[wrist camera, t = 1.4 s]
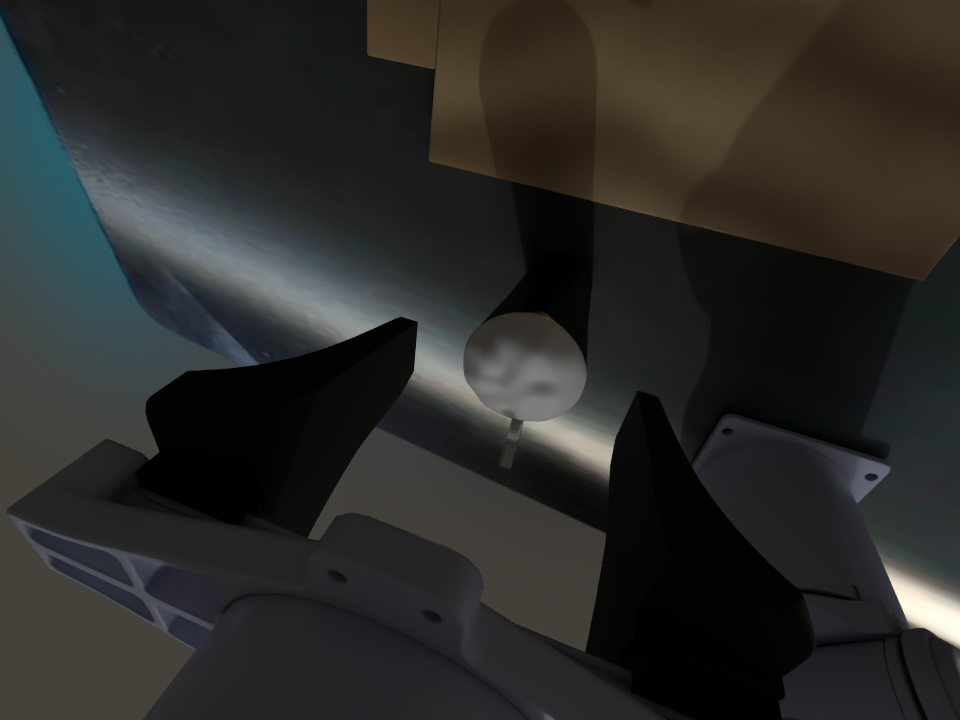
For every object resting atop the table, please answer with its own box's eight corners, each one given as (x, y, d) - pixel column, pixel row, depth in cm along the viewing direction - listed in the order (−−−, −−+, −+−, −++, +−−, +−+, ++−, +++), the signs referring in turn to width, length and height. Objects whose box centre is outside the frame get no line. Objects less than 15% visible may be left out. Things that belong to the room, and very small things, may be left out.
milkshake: (512, 326, 26) (446, 452, 18) (519, 232, 22) (443, 332, 15) (595, 342, 24) (564, 483, 17) (614, 244, 21) (588, 360, 14)
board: (906, 266, 18) (923, 282, 17) (382, 141, 22) (366, 146, 21) (1248, -183, 11) (1317, -209, 10) (389, -255, 15) (365, -281, 14)
